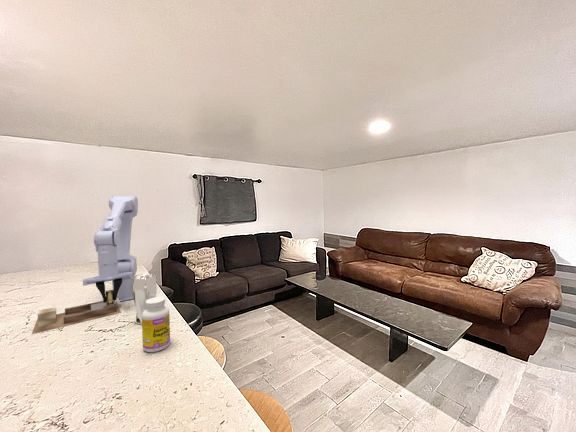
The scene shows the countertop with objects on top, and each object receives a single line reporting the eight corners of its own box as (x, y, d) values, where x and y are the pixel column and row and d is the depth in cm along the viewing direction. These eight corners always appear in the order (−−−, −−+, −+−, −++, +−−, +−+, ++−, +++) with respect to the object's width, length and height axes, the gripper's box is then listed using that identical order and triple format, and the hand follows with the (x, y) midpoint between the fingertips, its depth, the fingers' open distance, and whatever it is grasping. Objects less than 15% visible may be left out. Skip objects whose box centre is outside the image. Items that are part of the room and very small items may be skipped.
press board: (116, 305, 98) (116, 296, 98) (121, 316, 87) (120, 307, 87) (37, 322, 84) (37, 312, 84) (31, 339, 73) (31, 327, 73)
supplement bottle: (151, 356, 64) (149, 306, 63) (137, 348, 67) (135, 301, 67) (175, 343, 69) (173, 298, 69) (161, 337, 73) (160, 294, 72)
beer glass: (162, 317, 86) (160, 274, 86) (145, 326, 80) (143, 280, 79) (147, 314, 89) (145, 272, 88) (128, 323, 82) (126, 278, 82)
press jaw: (114, 304, 95) (113, 287, 94) (116, 309, 89) (115, 292, 89) (90, 309, 90) (89, 292, 90) (91, 315, 85) (90, 297, 85)
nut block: (56, 318, 83) (56, 307, 83) (55, 323, 80) (55, 310, 80) (39, 322, 81) (39, 310, 81) (38, 327, 78) (37, 314, 78)
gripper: (82, 269, 83) (84, 309, 83) (133, 262, 92) (135, 298, 93) (82, 265, 88) (84, 303, 89) (130, 259, 97) (131, 293, 98)
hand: (109, 300), depth 91 cm, fingers closed on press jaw, 2 cm apart
